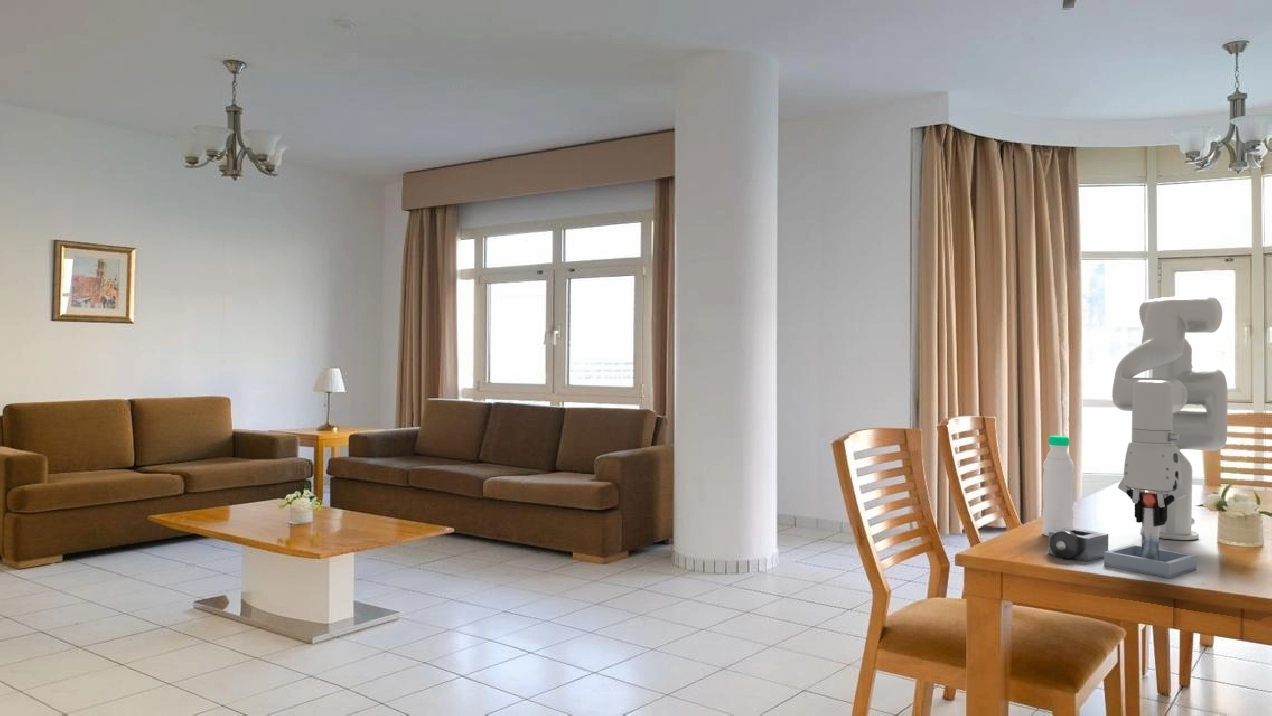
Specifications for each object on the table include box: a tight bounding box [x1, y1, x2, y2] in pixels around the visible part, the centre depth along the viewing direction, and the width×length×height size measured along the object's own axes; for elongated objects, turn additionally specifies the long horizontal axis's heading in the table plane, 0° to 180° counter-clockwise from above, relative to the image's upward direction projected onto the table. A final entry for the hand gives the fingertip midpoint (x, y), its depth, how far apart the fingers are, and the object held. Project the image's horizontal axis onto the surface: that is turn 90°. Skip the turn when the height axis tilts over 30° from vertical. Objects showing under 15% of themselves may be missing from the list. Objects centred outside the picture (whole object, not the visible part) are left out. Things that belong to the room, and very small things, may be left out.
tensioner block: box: [1048, 527, 1109, 562], centre depth 202 cm, size 12×9×6 cm
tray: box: [1103, 544, 1198, 579], centre depth 191 cm, size 13×13×3 cm
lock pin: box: [1141, 491, 1160, 560], centre depth 191 cm, size 3×3×14 cm
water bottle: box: [1041, 435, 1075, 537], centre depth 224 cm, size 7×7×25 cm
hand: (1150, 522), depth 191 cm, fingers closed on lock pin, 3 cm apart
